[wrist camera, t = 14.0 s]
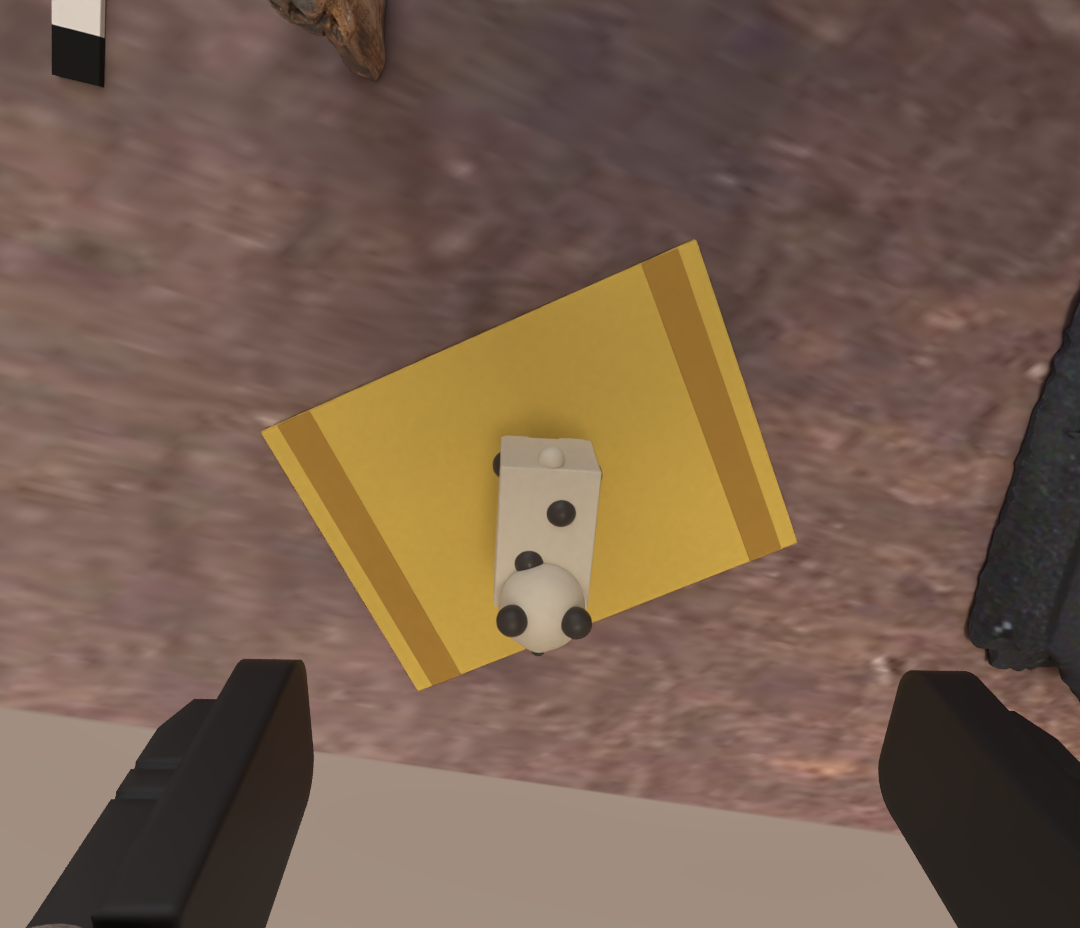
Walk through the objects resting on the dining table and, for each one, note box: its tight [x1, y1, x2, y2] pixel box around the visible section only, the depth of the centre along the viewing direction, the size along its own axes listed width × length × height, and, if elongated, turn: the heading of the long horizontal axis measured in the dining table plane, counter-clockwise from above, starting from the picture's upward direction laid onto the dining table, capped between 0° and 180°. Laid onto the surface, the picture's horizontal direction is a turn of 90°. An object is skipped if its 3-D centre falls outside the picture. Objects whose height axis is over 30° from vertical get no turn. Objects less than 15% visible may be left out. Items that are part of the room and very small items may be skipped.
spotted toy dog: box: [492, 435, 602, 656], centre depth 30 cm, size 9×4×8 cm, turn 176°
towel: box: [261, 240, 797, 691], centre depth 33 cm, size 20×15×1 cm
